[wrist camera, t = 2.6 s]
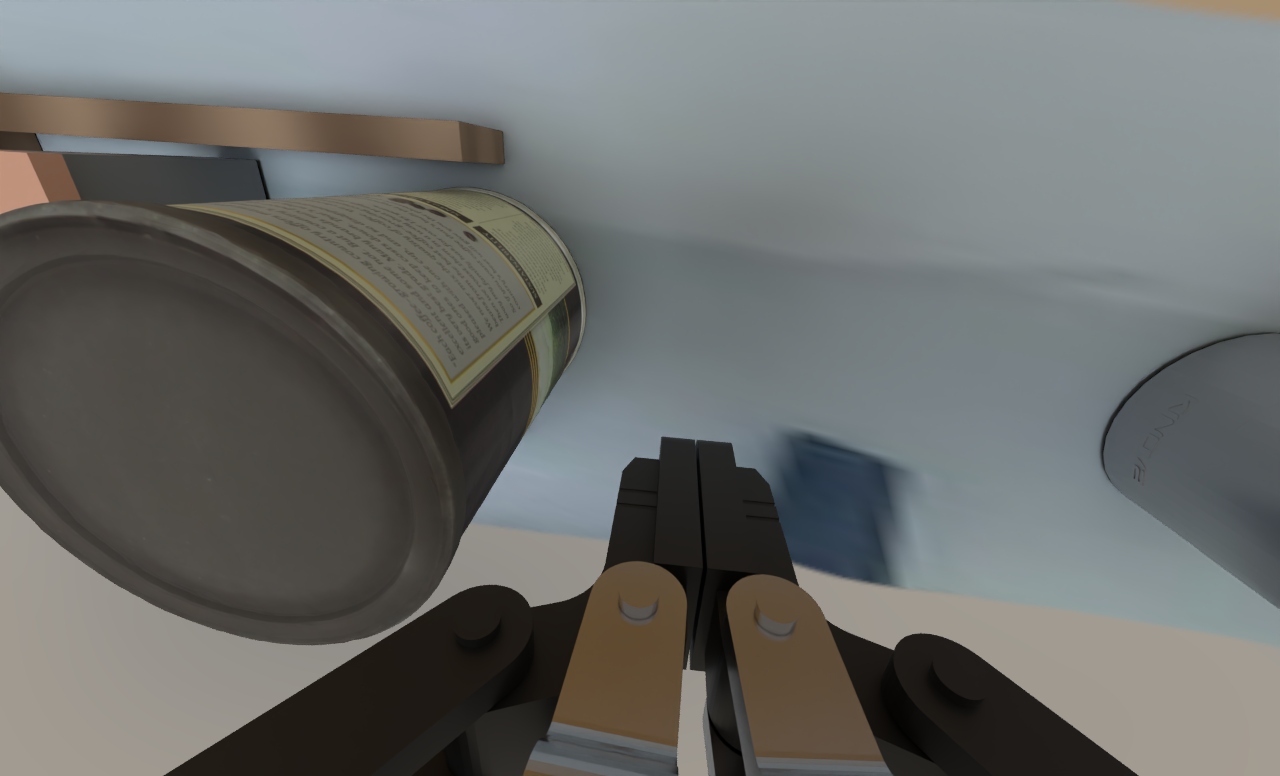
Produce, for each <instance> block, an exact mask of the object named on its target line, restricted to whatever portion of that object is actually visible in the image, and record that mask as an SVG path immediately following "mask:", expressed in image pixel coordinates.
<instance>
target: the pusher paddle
mask: <svg viewBox="0 0 1280 776" xmlns="http://www.w3.org/2000/svg"><path fill="white" fill-rule="evenodd" d="M96 199H98V200H126V201H141V202H150V203H157V204H163V205H175V204H195V203H213V202H232V201H251V200H266V196H265V192H264V189H263V185H262V181H261V177H260V174H259V170H258V166H257V162H256V160H245V159H231V158H216V157H192V156H164V155H137V154H109V153H81V152H54V151H26V150H0V214H2V213H5V212H8V211H11V210H14V209H18V208H22V207H26V206H30V205H34V204H40V203H48V202H55V201H66V200H96Z"/></svg>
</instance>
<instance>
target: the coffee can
mask: <svg viewBox="0 0 1280 776" xmlns="http://www.w3.org/2000/svg"><path fill="white" fill-rule="evenodd" d="M585 318H586V305H585V296H584V289H583V285H582V281H581V277H580V274H579V271H578V268H577V266H576V264H575V262H574V260H573V258H572V256H571V254H570V253H569V251H568V249H567V248H566V246H565V245H564V243H563V242H562V240H561V239H560V238H559V236H558V235H557V234H556V233H555V231H554V230H553V229H552V228H551V227H550V226H549V225H548V224H547V223H546V222H545V221H544V220H543V219H541V218H540V217H539V216H538V215H537V214H535V213H534V212H533V211H531V210H530V209H529V208H527V207H526V206H525V205H523V204H521V203H520V202H518V201H516V200H514V199H511V198H509V197H506V196H504V195H501V194H499V193H496V192H493V191H488V190H484V189H479V188H472V187H455V188H447V189H441V190H436V191H423V192H403V193H388V194H365V195H349V196H331V197H313V198H293V199H271V200H251V201H232V202H213V203H195V204H175V205H163V204H157V203H150V202H141V201H126V200H98V199H96V200H66V201H55V202H48V203H40V204H34V205H30V206H26V207H22V208H18V209H14V210H11V211H8V212H5V213H2V214H0V486H1V487H2V489H3V490H4V491H5V492H6V493H7V494H8V495H9V496H10V498H11V499H12V500H13V501H14V502H15V503H16V504H17V505H18V507H19V508H20V509H21V510H22V511H23V512H24V513H26V514H27V515H28V516H29V517H30V518H31V519H32V520H33V521H34V522H35V523H36V524H37V525H38V526H39V527H40V528H41V530H43V531H44V532H45V533H46V534H48V535H49V536H50V537H51V538H53V539H54V540H55V541H56V542H57V543H58V544H59V545H61V546H62V547H63V548H64V549H66V550H67V551H69V552H70V553H71V554H73V555H74V556H75V557H77V558H78V559H79V560H81V561H82V562H83V563H85V564H86V565H87V566H89V567H90V568H92V569H93V570H95V571H96V572H98V573H99V574H101V575H102V576H104V577H105V578H107V579H108V580H110V581H111V582H113V583H114V584H116V585H118V586H119V587H121V588H123V589H125V590H127V591H129V592H131V593H132V594H134V595H136V596H138V597H140V598H142V599H144V600H145V601H147V602H149V603H151V604H153V605H155V606H157V607H159V608H161V609H163V610H165V611H167V612H170V613H172V614H175V615H177V616H180V617H182V618H185V619H188V620H190V621H193V622H196V623H198V624H201V625H204V626H207V627H210V628H212V629H216V630H219V631H224V632H227V633H230V634H234V635H237V636H241V637H245V638H249V639H255V640H259V641H267V642H272V643H281V644H293V645H324V644H335V643H345V642H348V641H351V640H357V639H362V638H367V637H369V636H372V635H375V634H378V633H380V632H382V631H385V630H387V629H389V628H391V627H393V626H395V625H397V624H399V623H401V622H402V621H403V620H405V619H407V618H408V617H409V616H411V615H412V614H413V613H414V612H415V611H417V610H418V609H419V608H420V607H421V606H422V605H423V604H424V603H425V602H426V601H427V600H428V598H429V597H430V596H431V595H432V593H433V592H434V591H435V589H436V588H437V587H438V585H439V583H440V582H441V580H442V578H443V576H444V575H445V573H446V571H447V569H448V567H449V566H450V564H451V561H452V559H453V557H454V555H455V552H456V550H457V548H458V545H459V542H460V539H461V536H462V535H463V533H464V531H465V530H466V528H467V527H468V525H469V524H470V522H471V521H472V519H473V517H474V515H475V514H476V512H477V511H478V509H479V508H480V506H481V505H482V503H483V501H484V500H485V498H486V496H487V495H488V493H489V491H490V489H491V488H492V486H493V484H494V483H495V481H496V480H497V478H498V476H499V475H500V473H501V471H502V470H503V468H504V467H505V465H506V464H507V462H508V460H509V459H510V457H511V455H512V454H513V452H514V451H515V449H516V447H517V446H518V444H519V442H520V441H521V439H522V437H523V436H524V434H525V433H526V431H527V429H528V428H529V426H530V425H531V423H532V421H533V420H534V418H535V417H536V415H537V414H538V412H539V410H540V408H541V407H542V405H543V403H544V402H545V400H546V399H547V397H548V396H549V394H550V392H551V391H552V389H553V387H554V386H555V384H556V383H557V381H558V379H559V378H560V376H561V375H562V373H563V372H564V371H565V370H566V369H567V367H568V366H569V365H570V363H571V362H572V360H573V359H574V357H575V355H576V353H577V351H578V349H579V346H580V343H581V340H582V337H583V333H584V328H585Z"/></svg>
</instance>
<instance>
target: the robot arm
mask: <svg viewBox="0 0 1280 776" xmlns="http://www.w3.org/2000/svg"><path fill="white" fill-rule="evenodd" d="M1103 457H1104V464H1105V471H1106V472H1107V474H1108V476H1109V478H1110V480H1111V482H1112V484H1113V485H1114V486H1115V487H1116V488H1117V489H1118V490H1119V491H1120V492H1121V493H1122V494H1123V495H1125V496H1126V497H1127V498H1129V499H1130V500H1132V501H1133V502H1134V503H1136V504H1137V505H1138V506H1140V507H1141V508H1142V509H1144V510H1145V511H1147V512H1148V513H1149V514H1151V515H1152V516H1153V517H1155V518H1156V519H1157V520H1159V521H1160V522H1162V523H1163V524H1164V525H1166V526H1167V527H1168V528H1170V529H1171V530H1172V531H1174V532H1175V533H1177V534H1178V535H1179V536H1181V537H1182V538H1183V539H1185V540H1186V541H1187V542H1189V543H1190V544H1192V545H1193V546H1194V547H1196V548H1197V549H1198V550H1199V551H1201V552H1202V553H1203V554H1204V555H1206V556H1207V557H1209V558H1210V559H1211V560H1213V561H1214V562H1215V563H1217V564H1218V565H1220V566H1221V567H1222V568H1224V569H1225V570H1226V571H1228V572H1229V573H1230V574H1232V575H1233V576H1235V577H1236V578H1237V579H1239V580H1240V581H1241V582H1243V583H1244V584H1246V585H1247V586H1248V587H1250V588H1251V589H1252V590H1254V591H1255V592H1256V593H1258V594H1259V595H1261V596H1262V597H1263V598H1265V599H1266V600H1267V601H1269V602H1270V603H1272V604H1273V605H1274V606H1276V607H1277V608H1278V609H1280V334H1278V333H1271V334H1260V335H1249V336H1244V337H1240V338H1236V339H1231V340H1227V341H1223V342H1219V343H1217V344H1214V345H1212V346H1209V347H1206V348H1204V349H1201V350H1199V351H1196V352H1194V353H1191V354H1190V355H1188V356H1186V357H1184V358H1182V359H1181V360H1179V361H1177V362H1175V363H1173V364H1172V365H1170V366H1168V367H1166V368H1165V369H1164V370H1162V371H1161V372H1160V373H1158V374H1157V375H1156V376H1154V377H1153V378H1151V379H1150V380H1149V381H1147V382H1146V383H1145V384H1144V385H1143V386H1142V387H1141V388H1140V389H1139V390H1138V391H1137V392H1136V393H1135V394H1134V395H1133V396H1132V397H1131V398H1130V399H1129V400H1128V401H1127V402H1126V403H1125V405H1124V406H1123V408H1122V409H1121V410H1120V412H1119V413H1118V415H1117V416H1116V417H1115V419H1114V421H1113V423H1112V425H1111V427H1110V430H1109V432H1108V434H1107V437H1106V441H1105V447H1104V453H1103ZM774 504H775V503H774V499H773V496H772V492H771V489H770V485H769V484H768V483H767V482H766V481H765V479H764V478H763V477H762V476H761V475H760V474H759V473H758V472H757V470H756V469H753V468H743V467H736V463H735V457H734V452H733V447H732V444H731V443H725V442H715V441H704V440H697V442H696V446H695V440H692V439H681V438H670V437H661V446H660V456H659V460H658V459H647V458H637V457H635V458H634V459H633V460H632V461H631V462H630V463H629V465H628V466H627V467H626V468H625V469H624V470H623V472H622V477H621V482H620V488H619V493H618V499H617V505H616V509H615V515H614V520H613V525H612V531H611V536H610V541H609V547H608V552H607V557H606V563H605V566H604V570H603V572H602V574H601V575H600V577H599V578H598V579H597V580H596V582H595V583H594V584H593V585H592V586H591V587H590V588H589V589H588V590H586V591H585V592H584V593H582V594H580V595H578V596H576V597H574V598H571V599H569V600H566V601H562V602H557V603H552V604H547V605H541V606H536V607H530V606H529V604H528V602H527V601H526V600H525V598H524V597H523V596H522V595H521V594H519V593H518V592H517V591H515V590H513V589H511V588H508V587H505V586H499V585H483V586H477V587H473V588H469V589H467V590H464V591H462V592H460V593H458V594H456V595H454V596H452V597H451V598H449V599H447V600H446V601H444V602H442V603H441V604H439V605H438V606H436V607H435V608H433V609H431V610H430V611H428V612H426V613H425V614H423V615H422V616H420V617H418V618H417V619H415V620H414V621H412V622H410V623H409V624H407V625H405V626H404V627H402V628H401V629H399V630H398V631H396V632H394V633H393V634H391V635H389V636H388V637H386V638H385V639H383V640H381V641H380V642H378V643H376V644H375V645H373V646H372V647H370V648H368V649H367V650H365V651H364V652H362V653H360V654H359V655H357V656H356V657H354V658H352V659H351V660H349V661H347V662H346V663H344V664H343V665H341V666H340V667H338V668H336V669H335V670H333V671H331V672H330V673H328V674H327V675H325V676H323V677H322V678H320V679H318V680H317V681H315V682H314V683H312V684H310V685H309V686H307V687H306V688H304V689H302V690H301V691H299V692H298V693H296V694H294V695H293V696H291V697H289V698H288V699H286V700H285V701H283V702H281V703H280V704H278V705H277V706H275V707H273V708H272V709H270V710H269V711H267V712H265V713H264V714H262V715H261V716H259V717H257V718H256V719H254V720H252V721H251V722H249V723H248V724H246V725H244V726H243V727H241V728H240V729H238V730H236V731H235V732H233V733H232V734H230V735H228V736H227V737H225V738H223V739H222V740H221V741H219V742H217V743H215V744H214V745H212V746H211V747H209V748H207V749H206V750H204V751H203V752H201V753H199V754H198V755H196V756H194V757H193V758H191V759H190V760H188V761H186V762H185V763H183V764H182V765H180V766H179V767H177V768H175V769H173V770H172V771H170V772H169V773H167V774H166V775H164V776H678V767H677V744H678V731H679V717H680V702H681V687H682V672H683V669H686V667H687V661H688V654H689V649H690V670H696V671H705V672H706V691H707V698H706V702H705V707H704V714H703V730H704V739H705V748H706V757H707V766H708V775H709V776H1138V775H1137V774H1136V773H1134V772H1133V771H1131V770H1130V769H1129V768H1128V767H1126V766H1125V765H1124V764H1122V763H1121V762H1120V761H1118V760H1117V759H1116V758H1114V757H1113V756H1112V755H1110V754H1109V753H1108V752H1106V751H1105V750H1104V749H1102V748H1101V747H1100V746H1098V745H1097V744H1095V743H1094V742H1093V741H1092V740H1090V739H1089V738H1088V737H1086V736H1085V735H1083V734H1082V733H1081V732H1080V731H1078V730H1077V729H1075V728H1074V727H1073V726H1071V725H1070V724H1069V723H1067V722H1066V721H1065V720H1063V719H1062V718H1061V717H1059V716H1058V715H1057V714H1055V713H1054V712H1053V711H1051V710H1050V709H1049V708H1047V707H1046V706H1045V705H1043V704H1042V703H1041V702H1039V701H1038V700H1037V699H1035V698H1034V697H1033V696H1031V695H1030V694H1029V693H1027V692H1026V691H1025V690H1023V689H1022V688H1021V687H1019V686H1018V685H1017V684H1015V683H1014V682H1013V681H1011V680H1010V679H1009V678H1007V677H1006V676H1005V675H1003V674H1002V673H1001V672H999V671H998V670H997V669H995V668H994V667H993V666H991V665H990V664H988V663H987V662H986V661H985V660H983V659H982V658H981V657H979V656H978V655H976V654H975V653H973V652H972V651H970V650H969V649H967V648H965V647H963V646H962V645H960V644H958V643H956V642H954V641H951V640H949V639H946V638H943V637H940V636H937V635H932V634H921V633H920V634H912V635H909V636H906V637H904V638H903V639H902V640H900V642H899V643H898V644H897V645H896V647H895V650H891V649H889V648H886V647H884V646H881V645H879V644H876V643H873V642H871V641H868V640H866V639H863V638H861V637H858V636H855V635H853V634H850V633H848V632H846V631H844V630H842V629H840V628H838V627H837V626H835V625H833V624H831V623H830V622H829V621H827V620H826V619H825V617H824V614H823V612H822V610H821V608H820V607H819V606H818V604H817V603H816V601H815V600H814V599H813V598H812V597H811V596H810V595H809V594H808V593H806V591H804V590H803V589H802V588H800V587H799V585H798V582H797V579H796V575H795V572H794V568H793V565H792V561H791V558H790V554H789V551H788V548H787V544H786V541H785V537H784V534H783V530H782V527H781V523H780V522H779V516H778V513H777V510H776V507H774Z"/></svg>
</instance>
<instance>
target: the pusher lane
mask: <svg viewBox="0 0 1280 776" xmlns="http://www.w3.org/2000/svg"><path fill="white" fill-rule="evenodd" d="M34 133H41V134H56V135H71V136H86V137H101V138H116V139H131V140H146V141H161V142H176V143H191V144H206V145H220V146H235V147H250V148H265V149H280V150H295V151H310V152H325V153H340V154H355V155H370V156H385V157H400V158H415V159H430V160H445V161H460V162H477V163H494V164H504V148H503V132H502V131H498V130H494V129H490V128H486V127H481V126H477V125H473V124H469V123H464V122H460V121H448V120H432V119H415V118H399V117H383V116H367V115H351V114H334V113H318V112H302V111H286V110H270V109H253V108H237V107H221V106H205V105H189V104H172V103H156V102H140V101H124V100H108V99H91V98H75V97H59V96H43V95H27V94H10V93H0V150H26V151H42V150H41V147H40V145H39V143H38V141H37V138H36V136H35V134H34Z"/></svg>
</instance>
